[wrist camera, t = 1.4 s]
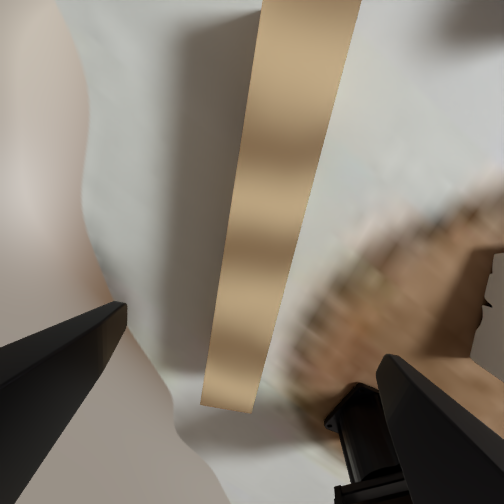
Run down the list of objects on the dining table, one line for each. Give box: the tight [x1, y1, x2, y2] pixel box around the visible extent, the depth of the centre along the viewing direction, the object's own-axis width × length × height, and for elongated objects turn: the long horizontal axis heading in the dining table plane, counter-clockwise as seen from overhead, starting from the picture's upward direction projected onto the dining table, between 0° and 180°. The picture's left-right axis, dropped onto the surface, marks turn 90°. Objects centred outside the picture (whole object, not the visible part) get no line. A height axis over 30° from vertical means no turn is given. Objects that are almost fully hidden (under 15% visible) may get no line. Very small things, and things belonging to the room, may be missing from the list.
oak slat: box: [200, 0, 362, 414], centre depth 18 cm, size 26×4×5 cm, turn 170°
